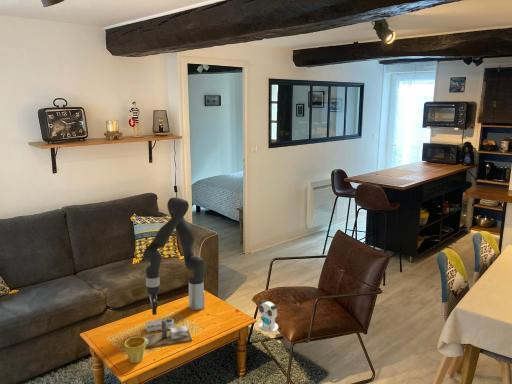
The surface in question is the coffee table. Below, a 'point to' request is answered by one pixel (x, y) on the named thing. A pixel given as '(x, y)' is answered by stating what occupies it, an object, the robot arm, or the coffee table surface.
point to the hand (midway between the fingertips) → (153, 310)
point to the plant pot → (135, 349)
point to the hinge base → (169, 336)
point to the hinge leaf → (159, 324)
